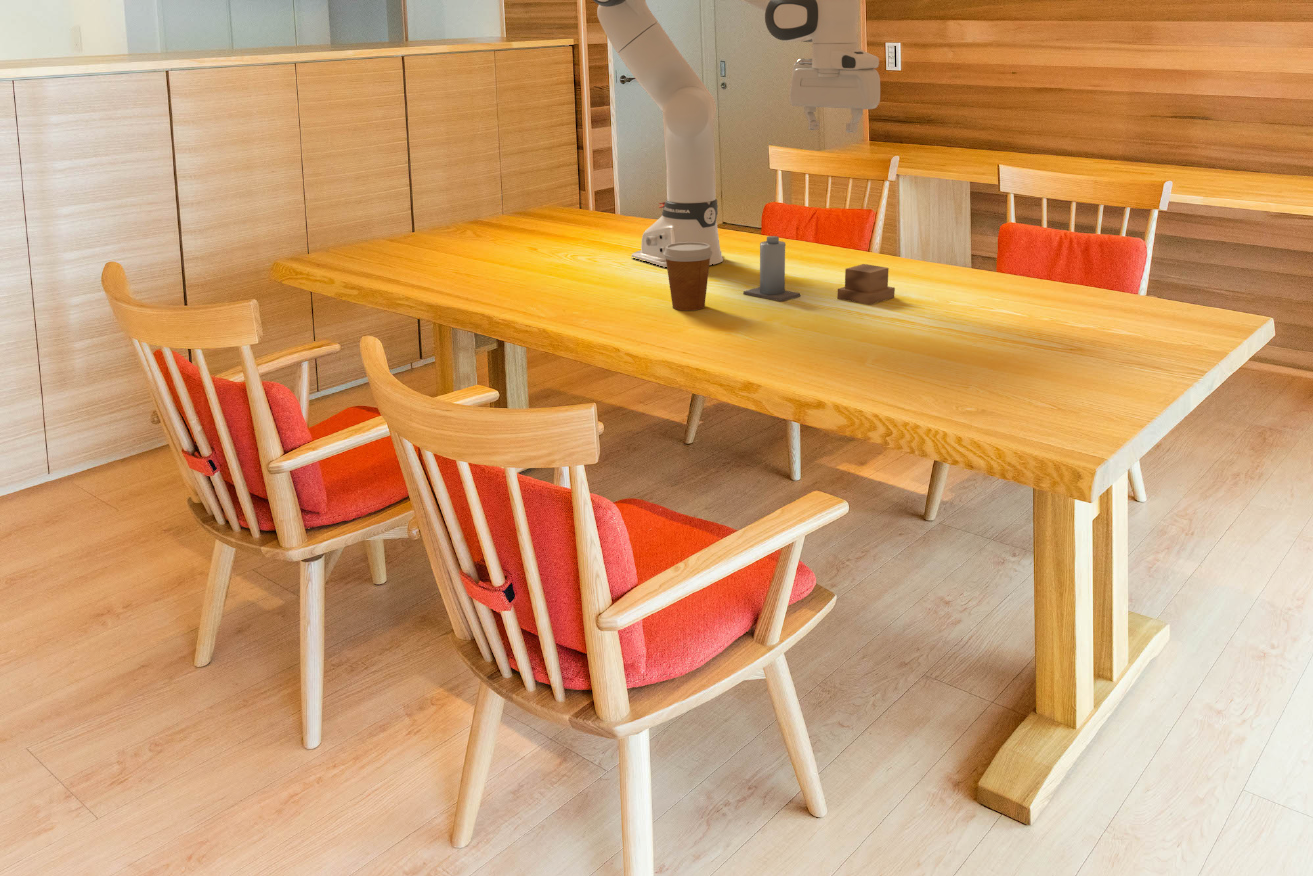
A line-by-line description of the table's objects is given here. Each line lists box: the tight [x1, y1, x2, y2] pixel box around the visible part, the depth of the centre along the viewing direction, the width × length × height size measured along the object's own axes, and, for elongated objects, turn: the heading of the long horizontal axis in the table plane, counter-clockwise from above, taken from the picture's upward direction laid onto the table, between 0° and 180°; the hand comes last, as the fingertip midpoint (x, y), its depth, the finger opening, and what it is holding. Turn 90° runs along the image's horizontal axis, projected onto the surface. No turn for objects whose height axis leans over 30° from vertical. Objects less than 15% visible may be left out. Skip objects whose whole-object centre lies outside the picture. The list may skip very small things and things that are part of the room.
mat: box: [743, 286, 801, 302], centre depth 231 cm, size 10×6×1 cm, turn 44°
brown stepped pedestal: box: [837, 263, 896, 306], centre depth 225 cm, size 8×8×6 cm
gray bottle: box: [759, 235, 786, 295], centre depth 229 cm, size 5×5×11 cm
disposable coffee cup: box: [663, 242, 712, 312], centre depth 221 cm, size 10×10×12 cm
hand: (832, 131), depth 229 cm, fingers open, 8 cm apart
